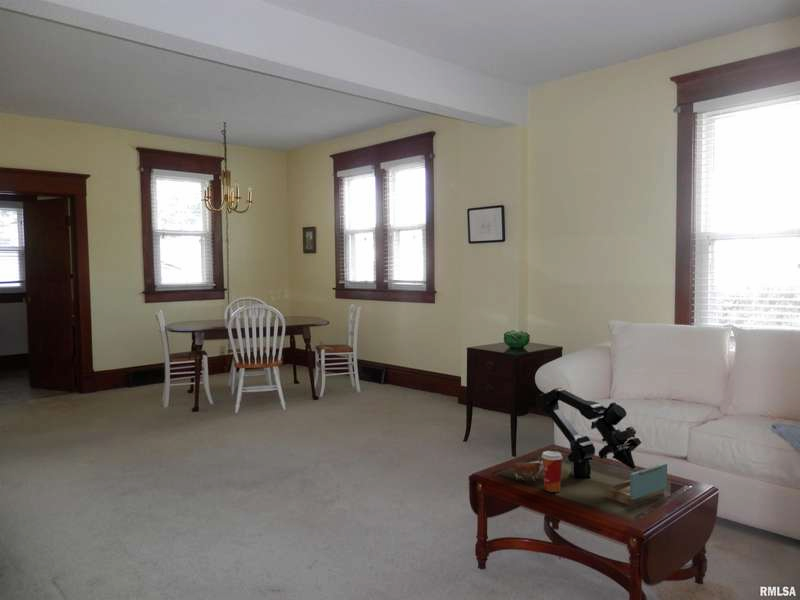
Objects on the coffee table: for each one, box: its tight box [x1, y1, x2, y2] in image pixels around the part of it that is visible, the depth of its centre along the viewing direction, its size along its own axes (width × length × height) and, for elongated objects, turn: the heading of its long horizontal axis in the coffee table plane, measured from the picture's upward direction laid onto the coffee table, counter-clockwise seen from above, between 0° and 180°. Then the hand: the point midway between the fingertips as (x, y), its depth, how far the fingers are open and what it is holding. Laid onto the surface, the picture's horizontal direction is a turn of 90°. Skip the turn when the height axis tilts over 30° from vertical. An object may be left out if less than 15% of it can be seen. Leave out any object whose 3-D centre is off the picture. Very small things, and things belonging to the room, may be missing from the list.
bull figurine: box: [512, 460, 543, 480], centre depth 240 cm, size 4×13×8 cm, turn 78°
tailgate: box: [629, 462, 668, 500], centre depth 217 cm, size 1×20×9 cm, turn 123°
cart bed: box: [605, 479, 665, 506], centre depth 223 cm, size 10×20×4 cm, turn 123°
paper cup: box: [541, 450, 563, 491], centre depth 229 cm, size 8×8×14 cm
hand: (633, 468), depth 223 cm, fingers closed
